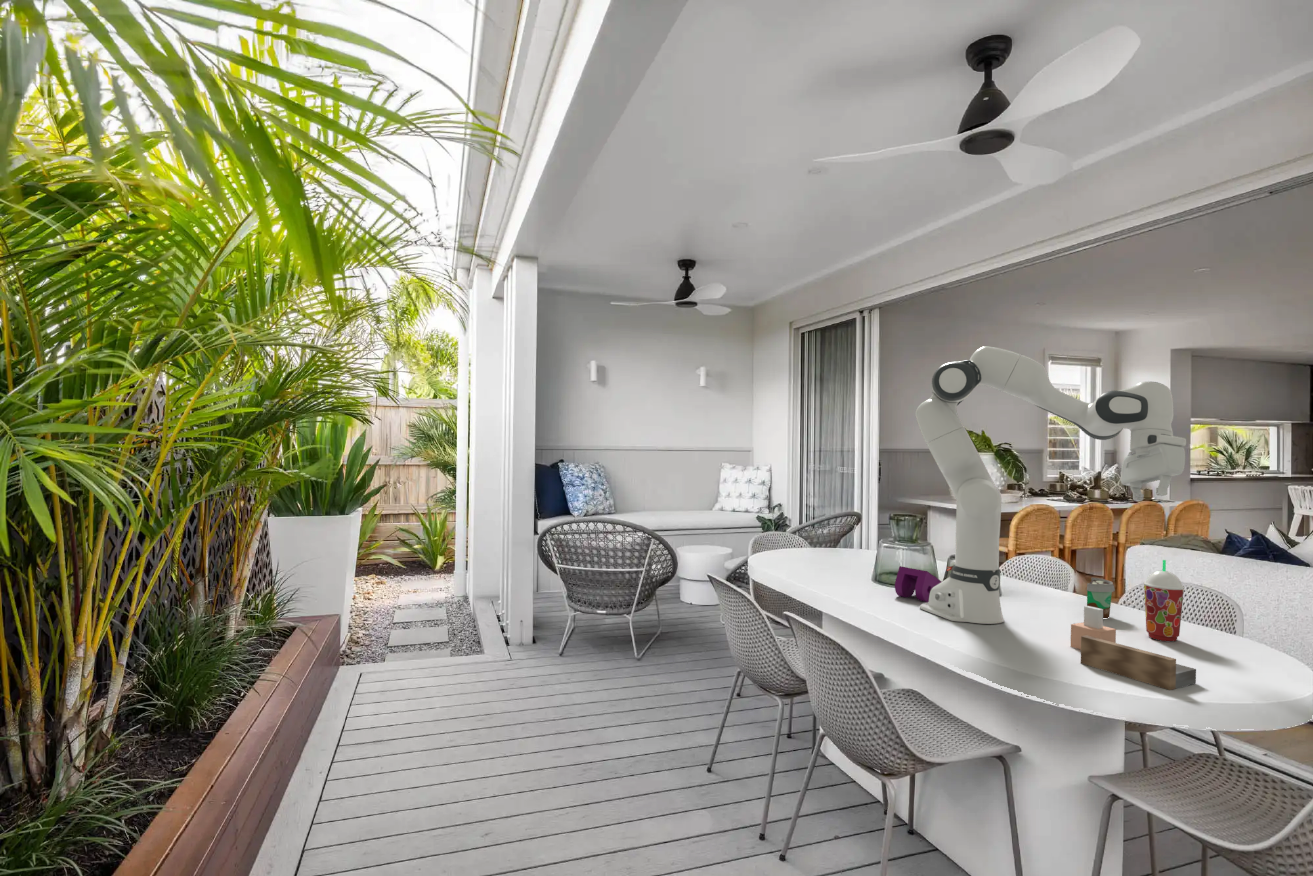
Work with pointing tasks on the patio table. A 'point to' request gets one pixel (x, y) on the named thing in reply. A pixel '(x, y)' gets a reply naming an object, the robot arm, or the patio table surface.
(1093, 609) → the peach box
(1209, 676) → the patio table surface
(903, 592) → the mounting bracket
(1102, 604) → the food container
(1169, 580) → the smoothie
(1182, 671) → the wall board
